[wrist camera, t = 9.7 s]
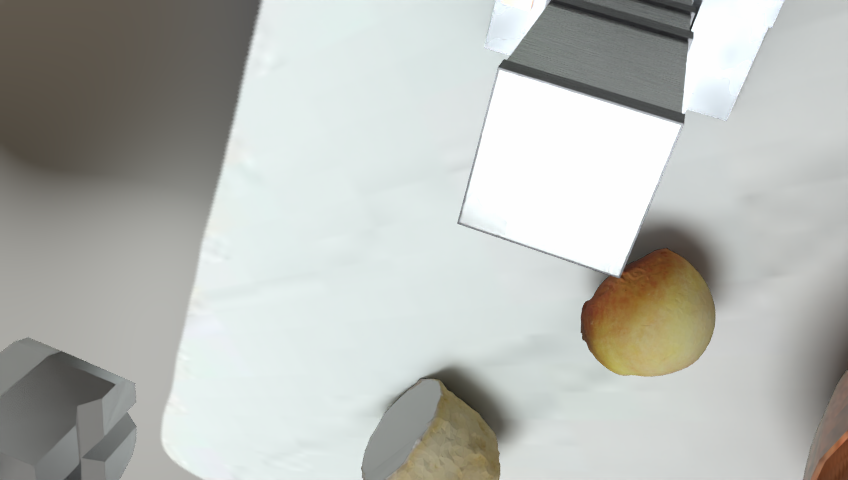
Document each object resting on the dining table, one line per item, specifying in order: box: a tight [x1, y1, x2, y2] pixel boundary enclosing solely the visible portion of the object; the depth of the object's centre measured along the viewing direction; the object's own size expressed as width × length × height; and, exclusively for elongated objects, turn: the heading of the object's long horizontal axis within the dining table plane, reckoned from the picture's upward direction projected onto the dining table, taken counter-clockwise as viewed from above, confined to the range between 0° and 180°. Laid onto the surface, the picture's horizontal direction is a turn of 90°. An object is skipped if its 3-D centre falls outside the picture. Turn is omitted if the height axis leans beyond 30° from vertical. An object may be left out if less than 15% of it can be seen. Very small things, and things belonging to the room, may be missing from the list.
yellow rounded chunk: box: [361, 379, 500, 480], centre depth 58 cm, size 10×10×10 cm
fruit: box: [581, 248, 715, 376], centre depth 48 cm, size 8×8×8 cm
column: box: [457, 0, 696, 279], centre depth 25 cm, size 4×4×18 cm
